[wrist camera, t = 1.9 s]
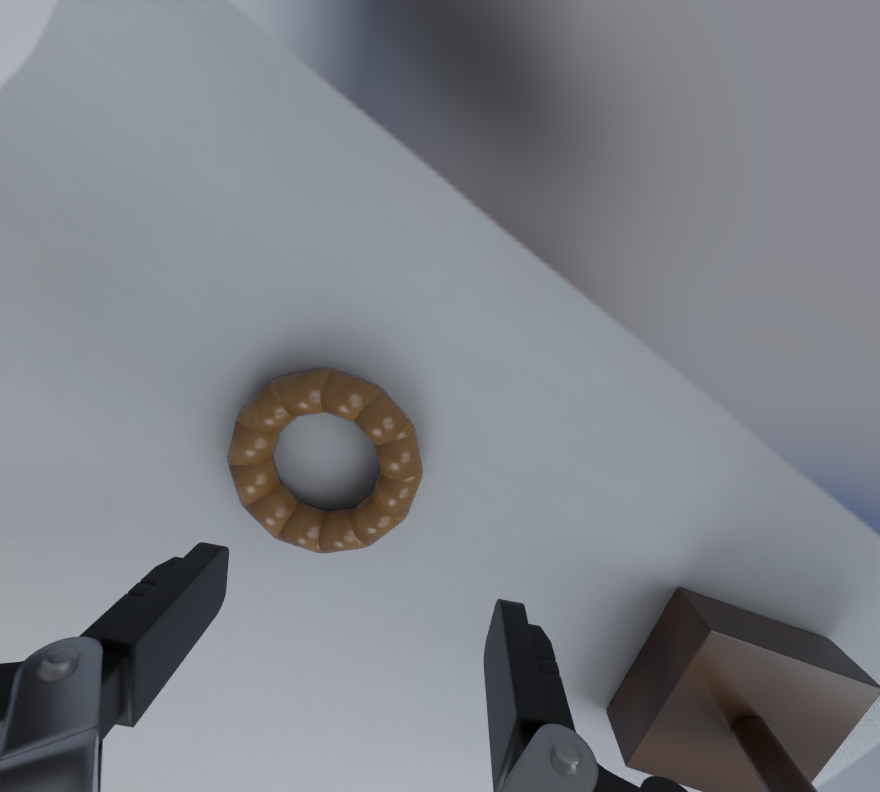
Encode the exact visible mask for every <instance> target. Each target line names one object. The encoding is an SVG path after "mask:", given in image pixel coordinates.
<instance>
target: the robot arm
mask: <svg viewBox="0 0 880 792" xmlns="http://www.w3.org/2000/svg"><path fill="white" fill-rule="evenodd" d="M228 559H229V549H228V547H225V546H219V545H214V544H209V543H204V542H201V543H198V544H197V545H196V546H195V547H194V548H193V549H192V550H191V551H190V552H189V553H188V554H187V555H186V556H185V557H184V558H179V557H174V558H172V559H170V560H168V561H166V562H164V563H162V564H160V565H158V566H156V567H155V568H154V569H153V570H151V571H150V572H149V573H148V574H147V575H146V576H145V577H144V578H143V579H142V580H141V582H140V583H137V584H136V585H135V586H134V587H133V588H132V589H131V590H130V591H129V592H128V594H125V595H124V596H123V597H122V598H121V599H120V600H119V601H117V602H116V603H115V604H114V605H113V606H112V607H111V608H110V609H109V610H108V611H106V612H105V613H104V614H103V615H102V616H101V617H100V618H99V619H98V620H97V621H96V622H94V623H93V624H92V625H91V626H90V627H89V628H88V629H87V630H86V631H85V632H83V633H82V634H81V635H80V636H79V637H71V638H66V639H62V640H59V641H56V642H53V643H51V644H49V645H47V646H45V647H43V648H41V649H39V650H38V651H36V652H35V653H33V654H32V655H30V656H29V657H28V658H27V659H26V660H25V661H22V662H13V663H3V664H0V792H101V776H102V755H103V739H104V738H105V736H106V735H107V734H108V732H109V731H110V730H111V729H112V727H113V726H114V725H115V724H117V725H123V726H128V727H134V726H135V725H136V723H137V722H138V720H139V719H140V718H141V716H142V715H143V714H144V712H145V711H146V710H147V708H148V707H149V706H150V704H151V703H152V702H153V700H154V699H155V698H156V696H157V695H158V694H159V692H160V691H161V689H162V688H163V687H164V685H165V684H166V683H167V681H168V680H169V679H170V677H171V676H172V675H173V673H174V672H175V671H176V669H177V668H178V667H179V665H180V664H181V663H182V661H183V660H184V658H185V657H186V656H187V654H188V653H189V652H190V650H191V649H192V648H193V646H194V645H195V644H196V642H197V641H198V640H199V638H200V637H201V636H202V634H203V633H204V632H205V630H206V629H207V628H208V626H209V625H210V623H211V622H212V621H213V619H214V618H215V617H216V615H217V614H218V612H219V610H220V608H221V606H222V604H223V601H224V598H225V594H226V585H227V572H228ZM555 659H556V658H555V655H554V651H553V648H552V644H551V641H550V640H549V638H548V637H547V636H546V634H545V633H544V631H543V630H542V628H541V627H540V626H537V625H531V624H528V620H527V615H526V611H525V606H524V604H523V603H518V602H513V601H507V600H502V599H498V600H497V602H496V605H495V608H494V612H493V616H492V620H491V624H490V627H489V631H488V635H487V639H486V644H485V650H484V675H485V688H486V700H487V713H488V726H489V739H490V752H491V765H492V778H493V791H494V792H688V791H687V790H686V789H684V788H683V787H682V786H680V785H679V784H677V783H676V782H674V781H672V780H670V779H667V778H664V777H660V776H651V777H648V778H647V779H645V780H644V781H643V783H642V784H641V787H640V788H639V787H637V786H635V785H634V784H632V783H630V782H628V781H626V780H624V779H622V778H620V777H618V776H616V775H615V774H613V773H611V772H609V771H608V770H606V769H604V768H603V767H602V766H600V765H599V764H598V763H597V761H596V759H595V756H594V754H593V752H592V750H591V749H590V747H589V746H588V744H587V743H586V742H585V741H584V740H583V739H582V738H581V737H580V736H579V735H578V734H577V733H576V731H575V727H574V724H573V720H572V717H571V713H570V709H569V706H568V702H567V698H566V695H565V691H564V687H563V684H562V680H561V677H560V676H559V669H558V666H557V662H555Z"/></svg>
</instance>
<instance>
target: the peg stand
mask: <svg viewBox="0 0 880 792" xmlns="http://www.w3.org/2000/svg"><path fill="white" fill-rule="evenodd" d="M879 695H880V685H879V684H878V683H876V682H875V681H874V680H873V679H872V678H871V677H870V676H869V675H868V674H867V673H866V672H865V671H863V670H862V669H861V668H860V667H859V666H858V665H857V664H856V663H855V662H854V661H853V660H852V659H850V658H849V657H848V656H847V655H846V654H845V653H844V652H843V651H842V650H841V649H840V648H839V647H838V646H836V645H835V644H834V643H833V642H832V641H831V640H829V639H827V638H824V637H821V636H818V635H815V634H812V633H809V632H806V631H803V630H801V629H798V628H795V627H792V626H789V625H786V624H783V623H780V622H778V621H775V620H772V619H769V618H766V617H763V616H760V615H757V614H755V613H752V612H749V611H746V610H743V609H740V608H737V607H734V606H731V605H729V604H726V603H723V602H720V601H717V600H714V599H711V598H708V597H706V596H703V595H700V594H697V593H694V592H691V591H688V590H685V589H683V588H680V587H679V588H678V589H677V591H676V592H675V594H674V596H673V597H672V599H671V601H670V603H669V604H668V606H667V608H666V609H665V611H664V613H663V615H662V616H661V618H660V620H659V621H658V623H657V625H656V627H655V628H654V630H653V632H652V634H651V635H650V637H649V639H648V640H647V642H646V644H645V646H644V647H643V649H642V651H641V652H640V654H639V656H638V658H637V659H636V661H635V663H634V664H633V666H632V668H631V670H630V671H629V673H628V675H627V677H626V678H625V680H624V682H623V683H622V685H621V687H620V689H619V690H618V692H617V694H616V695H615V697H614V699H613V701H612V702H611V704H610V706H609V707H608V709H607V715H608V718H609V721H610V724H611V726H612V729H613V732H614V735H615V738H616V740H617V743H618V746H619V749H620V752H621V754H622V757H623V760H624V763H625V765H626V767H629V768H632V769H635V770H638V771H641V772H644V773H647V774H650V775H653V776H660V777H664V778H667V779H670V780H672V781H674V782H676V783H678V784H681V785H684V786H687V787H690V788H693V789H696V790H699V791H702V792H817V790H816V789H815V788H814V786H813V785H812V781H813V780H814V779H815V777H816V776H817V775H818V774H819V772H820V771H821V770H822V768H823V767H824V766H825V765H826V763H827V762H828V761H829V759H830V758H831V757H832V756H833V754H834V753H835V752H836V750H837V749H838V748H839V746H840V745H841V744H842V743H843V741H844V740H845V739H846V737H847V736H848V735H849V734H850V732H851V731H852V730H853V728H854V727H855V726H856V725H857V723H858V722H859V721H860V719H861V718H862V717H863V716H864V714H865V713H866V712H867V710H868V709H869V708H870V707H871V705H872V704H873V703H874V701H875V700H876V699H877V698H878V696H879Z"/></svg>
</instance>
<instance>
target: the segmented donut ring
mask: <svg viewBox="0 0 880 792" xmlns="http://www.w3.org/2000/svg"><path fill="white" fill-rule="evenodd" d="M321 412H327V413H330V414H333V415H336V416H338V417H341V418H344V419H347V420H350V421H353V422H354V423H355V424H356V425H357V426H358V427H359V428H360V429H361V430H362V431H363V432H364V434H365V435H366V436H367V437H368V438H369V439H370V440H371V441H372V442H373V443H374V445H375V449H376V454H377V458H378V462H379V467H380V473H379V476H378V479H377V482H376V484H375V487H374V490H373V493H372V494H371V495H369V496H368V497H367V498H365V499H364V500H363V501H362V502H360V503H359V504H358V505H357V506H355V507H354V508H349V509H342V510H335V511H328V512H327V511H325V510H322V509H319V508H316V507H313V506H310V505H307V504H304V503H301V502H300V501H299V500H298V499H297V498H296V497H295V496H294V495H293V494H292V493H291V492H290V491H289V490H288V489H287V488H286V487H285V486H284V485H283V484H282V483H281V482H280V479H279V475H278V472H277V468H276V465H275V461H274V458H273V454H274V450H275V447H276V443H277V440H278V436H279V433H280V432H281V431H282V430H283V429H284V428H285V427H286V426H287V425H289V424H290V423H291V422H292V421H293V420H294V419H295V418H297V417H298V416H303V415H309V414H315V413H321ZM227 461H228V465H229V468H230V472H231V475H232V478H233V481H234V484H235V488H236V491H237V494H238V497H239V500H240V503H241V505H242V506H243V507H244V508H245V509H246V510H247V511H248V512H249V513H250V514H251V515H252V516H253V517H254V518H255V519H256V520H257V521H258V522H259V523H260V524H261V525H262V526H263V527H264V528H265V529H266V530H267V531H268V532H269V533H270V534H271V535H272V536H273V537H275V538H276V539H278V540H281V541H284V542H287V543H290V544H293V545H295V546H298V547H301V548H304V549H307V550H310V551H313V552H316V553H331V552H339V551H346V550H353V549H360V548H365V547H368V546H370V545H372V544H373V543H374V542H376V541H377V540H378V539H380V538H381V537H382V536H384V535H385V534H386V533H388V532H389V531H390V530H392V529H393V528H394V527H395V526H397V525H398V524H399V523H401V522H402V521H403V520H404V519H405V518H406V516H407V514H408V512H409V510H410V507H411V504H412V502H413V499H414V497H415V494H416V491H417V489H418V486H419V483H420V481H421V478H422V473H423V469H422V463H421V458H420V453H419V449H418V444H417V439H416V434H415V429H414V426H413V424H412V422H411V421H410V420H409V418H408V417H407V416H406V415H405V414H404V413H403V412H402V411H401V409H400V408H399V407H398V406H397V405H396V404H395V403H394V402H393V400H392V399H391V398H390V397H389V396H388V395H387V394H386V392H385V391H384V390H383V389H382V388H381V387H379V386H378V385H376V384H374V383H371V382H368V381H366V380H363V379H360V378H357V377H354V376H352V375H349V374H346V373H343V372H340V371H338V370H335V369H331V368H323V369H317V370H311V371H306V372H300V373H294V374H289V375H283V376H279V377H277V378H275V379H274V380H273V381H271V382H270V383H269V384H268V385H267V386H266V387H265V388H263V389H262V390H261V391H260V392H259V393H258V394H257V395H256V396H255V397H254V398H252V399H251V400H250V401H249V402H248V403H247V404H246V405H245V406H244V407H243V408H242V409H241V410H240V412H239V413H238V416H237V419H236V423H235V427H234V431H233V435H232V439H231V443H230V447H229V451H228V456H227Z"/></svg>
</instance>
